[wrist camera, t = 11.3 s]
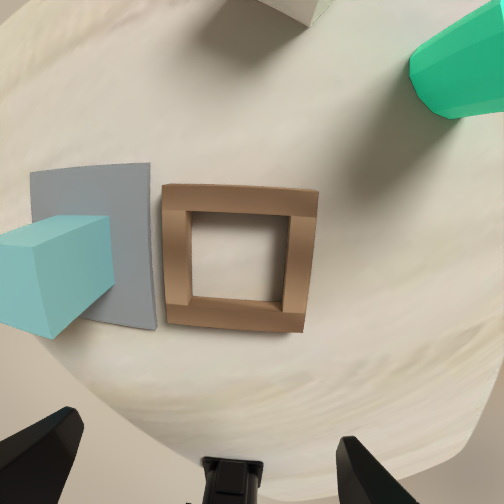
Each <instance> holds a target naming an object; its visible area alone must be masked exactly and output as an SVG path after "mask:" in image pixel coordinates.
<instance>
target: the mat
mask: <svg viewBox="0 0 504 504" xmlns="http://www.w3.org/2000/svg"><path fill="white" fill-rule="evenodd" d="M30 193H31V211H32V223H35V222H38V221H41V220H44V219H47V218H50V217H53V216H56V215H91V216H109V220H110V237H111V251H112V262H113V272H114V281H115V284H114V285H113V286H112V287H110V288H109V289H108V290H107V291H106V292H105V293H104V294H102V295H101V296H100V297H99V298H98V299H97V300H96V301H94V302H93V303H92V304H91V305H90V306H89V307H88V308H87V309H85V310H84V311H83V312H82V313H81V314H80V315H79V316H78V317H80V318H85V319H90V320H95V321H101V322H106V323H112V324H118V325H124V326H130V327H137V328H144V329H151V330H156V328H157V318H156V308H155V297H154V285H153V271H152V255H151V232H150V163H129V164H111V165H97V166H84V167H73V168H64V169H55V170H46V171H38V172H31V173H30Z"/></svg>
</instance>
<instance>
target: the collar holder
mask: <svg viewBox="0 0 504 504" xmlns="http://www.w3.org/2000/svg"><path fill="white" fill-rule="evenodd" d="M318 195H319V192H318V191H315V190H308V189H295V188H280V187H264V186H244V185H217V184H166V185H162V242H163V266H164V284H165V298H166V311H167V322H168V323H174V324H183V325H192V326H202V327H213V328H225V329H238V330H253V331H271V332H294V333H303V329H304V322H305V315H306V308H307V300H308V292H309V284H310V276H311V268H312V259H313V250H314V240H315V230H316V219H317V207H318ZM191 211H208V212H231V213H251V214H269V215H285V216H289V221H288V235H287V247H286V259H285V271H284V282H283V293H282V302H270V301H252V300H237V299H223V298H210V297H197V296H193V295H192V249H191Z"/></svg>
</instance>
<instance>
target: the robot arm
mask: <svg viewBox="0 0 504 504" xmlns="http://www.w3.org/2000/svg"><path fill="white" fill-rule="evenodd" d="M83 430H84V423H83V421H82V419H81V417H80V415H79V413H78V411H77V410H76V409H75V408H72V407H68V406H66V407H64V408H62V409H60V410H58V411H57V412H55V413H53V414H51V415H49V416H47V417H46V418H44V419H42V420H40V421H38V422H36V423H35V424H33V425H31V426H29V427H27V428H25V429H23V430H21V431H19V432H17V433H16V434H14V435H12V436H10V437H8V438H6V439H4V440H2V441H0V504H58V501H59V498H60V495H61V493H62V490H63V488H64V485H65V483H66V480H67V478H68V475H69V473H70V470H71V467H72V465H73V462H74V460H75V457H76V454H77V450H78V447H79V443H80V440H81V437H82V433H83ZM203 465H204V471H205V478H206V486H205V492H204V497H203V502H202V504H257V489H258V488H260V484H261V478H262V472H263V462H259V461H242V460H230V459H220V458H211V457H204V459H203ZM336 465H337V481H338V495H339V501H340V504H419V503H418V502H416V500H415V499H414V498H413V497H412V496H411V495H410V494H409V493H408V492H407V491H406V490H405V489H404V488H403V487H402V486H401V485H400V484H399V483H398V482H397V480H396V479H395V478H394V477H393V476H392V475H391V474H390V473H389V472H388V471H387V470H386V469H385V468H384V467H383V466H382V465H381V464H380V463H379V462H378V461H377V460H376V458H375V457H374V456H373V455H372V454H371V453H370V452H369V451H368V450H367V449H366V448H365V447H364V446H363V445H362V443H361V442H360V441H359V440H358V439H357V438H356V437H355V436H344V437H342V438H341V439H340V442H339V445H338V448H337V450H336ZM186 504H191V503H186Z"/></svg>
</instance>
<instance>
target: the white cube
mask: <svg viewBox="0 0 504 504" xmlns="http://www.w3.org/2000/svg"><path fill="white" fill-rule="evenodd" d="M258 1H260V2H262V3H264V4H266V5H268V6H270V7H272V8H274V9H276V10H278V11H280V12H282V13H284V14H286V15H288V16H290V17H292V18H293V19H295V20H297V21H299V22H300V23H302V24H304V25H306V26H307V27H309V28H310V26H311V25H312V24H313V23H314V22H315V21H316V20H317V19H318V18H319V16H320V15H321V14H322V13H323V12H324V11H325V10H326V9H327V8H328V7H329V6H330V5H331V4H332V3H333V2H334V1H335V0H258Z"/></svg>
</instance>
